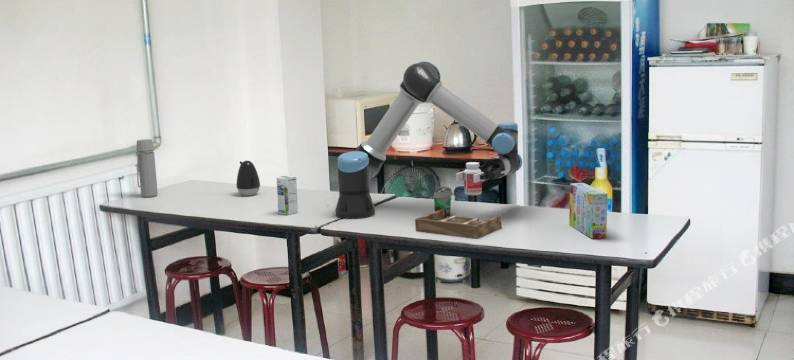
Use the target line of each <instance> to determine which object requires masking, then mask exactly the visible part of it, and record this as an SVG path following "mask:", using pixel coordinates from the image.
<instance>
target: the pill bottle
mask: <svg viewBox="0 0 794 360" xmlns="http://www.w3.org/2000/svg"><path fill="white" fill-rule="evenodd" d="M479 166H480V162H475V161H473V162H472V161H469V162H466V163H465V168H467V169H465V168H464V169H465V171H464V180H463V187H464V189H463V191H464V195H467V196H479V195H481V194H482V192H483V190H482V189H483V185H482V183H483V182H482V181H483V180H482V181H479V182H476V183H473V175H475V174H478V173H481V170H480V169H479Z"/></svg>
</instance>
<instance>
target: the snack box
mask: <svg viewBox="0 0 794 360" xmlns="http://www.w3.org/2000/svg"><path fill="white" fill-rule="evenodd" d="M568 216H569V219H568V220H569V223H568V224H569V226H570V227H572V228H573V229H574V230H577V231H578V232H580V233H582V234H583V235H586V237H588V238H590V239H592V240H595V239H606V238H607V222H608V220H607V219H608V218H607V217H608V193H607V192H605V191H604V190H603V191H602V190H601V189H598V188H596V187H593V186H591V185H589V184H587V183H585V182H573V183H569V215H568Z"/></svg>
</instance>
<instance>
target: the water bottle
mask: <svg viewBox="0 0 794 360" xmlns="http://www.w3.org/2000/svg"><path fill="white" fill-rule="evenodd" d="M135 154H136V158H137V161H136V162H137V163H136V164H137V170H136V172H137V173H136V174H137V176H136V177H137V182H136V183H137V186H138V188H140V194H141V197H143V198H154V197H157V196H158V194H159V193H158V183H157V180H158V179H157V169H156V158H155V148H154V143H153V139H149V138H145V139H138V140H136V151H135Z"/></svg>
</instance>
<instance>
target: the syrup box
mask: <svg viewBox="0 0 794 360" xmlns="http://www.w3.org/2000/svg"><path fill="white" fill-rule="evenodd" d="M297 184H298V183H297V176H292V175H291V176H290V175H280V176H277V177H276V193H277V194H276V195H277V213H278V214H279V215H285V216H291V215H294V214H295V215H296V214H298V213H299V207H298V189H297V187H298V185H297Z"/></svg>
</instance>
